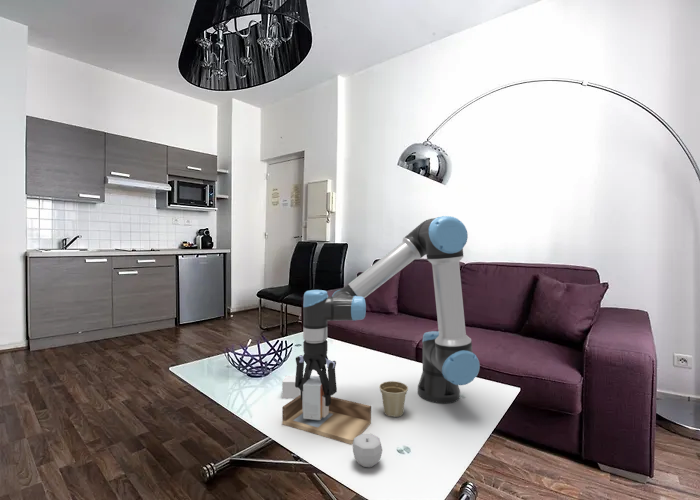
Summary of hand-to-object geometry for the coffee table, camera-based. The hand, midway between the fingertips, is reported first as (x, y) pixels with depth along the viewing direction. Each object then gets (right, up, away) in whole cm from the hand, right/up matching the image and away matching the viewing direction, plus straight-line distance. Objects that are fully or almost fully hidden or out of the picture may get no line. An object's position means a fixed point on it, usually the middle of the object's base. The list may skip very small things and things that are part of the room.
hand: (315, 412), depth 109 cm
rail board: (+4, -2, -2) cm, 5 cm away
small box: (0, 0, 0) cm, 0 cm away
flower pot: (+25, -3, +5) cm, 26 cm away
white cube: (-10, -2, +19) cm, 22 cm away
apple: (+15, -3, -21) cm, 26 cm away
